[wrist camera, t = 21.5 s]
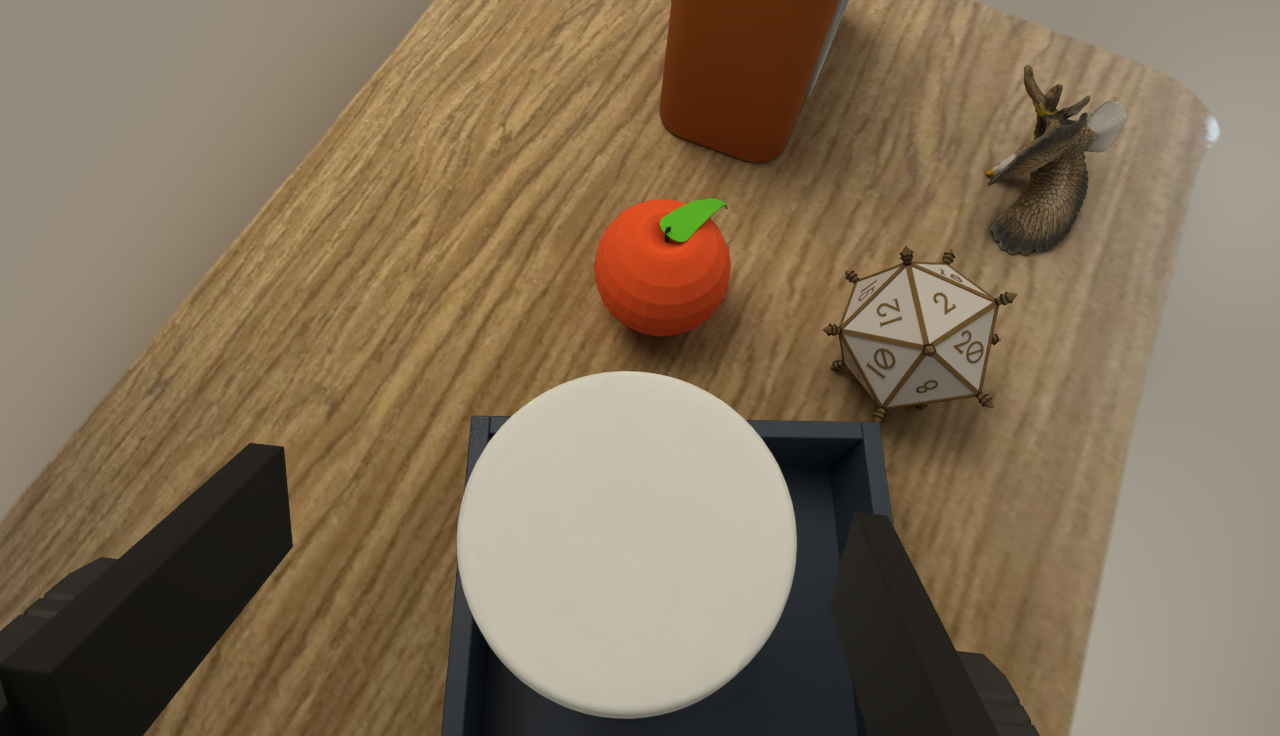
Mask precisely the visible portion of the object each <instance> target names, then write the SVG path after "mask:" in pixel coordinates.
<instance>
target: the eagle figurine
mask: <svg viewBox="0 0 1280 736" xmlns="http://www.w3.org/2000/svg"><path fill="white" fill-rule="evenodd" d="M1024 85H1025V88H1026V90H1027V92H1028V94H1029V96H1030V97H1031V98H1032V100H1033V105H1034V107H1035V112H1036V113H1037V124H1036V130H1035V131H1034V136H1035V137H1034V140H1033V141H1031V142H1029V143H1027V144H1026V145H1024V146H1022V147H1021V148H1020V149H1019V150H1018V151H1016V152H1015V153H1013V154H1012V155H1011V156H1009V157H1007V158H1006V159H1004V160H1002V161H1001V162H1000V163H998V164H997V165H996V166H995V167H994V168H992V169H991V170H987V171H986V172H985V173H986V175H995V176H994V177H993V178H992V179H991V181H990V182H989V183H988V186H990V185H992V184H993V183H995V182H996V181H999V180H1001V179H1004V178H1007V177H1012V176H1020V175H1024V174H1027V173H1030V174H1031V179H1030V182H1029V184H1028V186H1027V187H1026V189H1025V190H1024V192H1023V193H1022V194H1021V196H1020V197H1019V199H1018V200H1017V201H1016V202H1015V203H1014V205H1012V206H1011V207H1010V208H1009V209H1007V210H1006V211H1005V212H1004V213H1002V215H1001V216H999V217H998V218H997V219H996V220H995V221H994V222H993V223H992V224H991V226H990V230H991V231H993V232H994V236H993V238H994V240H996V241H999V242H1000V243H999V246H1000V248H1001V249H1002V250H1007V251H1008V252H1009V253H1010V254H1016V253H1018V252H1021V253H1022V254H1024V255H1026V254H1029V253H1030V252H1032V251H1033V249H1035V250H1036V252H1041V251H1042V250H1043V249H1044V248H1046V249H1051V248H1052V247H1053V246H1055V245H1056V244H1057V243H1058V241H1061V240H1063V238H1064V237H1065V235H1066V234H1067V233H1069V231H1070V229H1071V226H1072V224H1073V223H1074V221H1075V220H1076V218H1077V212H1079V211H1080V208H1081V206H1082V204H1083V200H1084V199H1085V196H1086V194H1087V188H1088V185H1087V182H1088V177H1087V175H1088V172H1087V170H1086V163H1085V162H1084V160H1085V156H1084V152H1085V151H1091V152H1104V151H1105V150H1107V149H1108V148H1109V147H1110V146H1111V145H1112V144H1113V142H1114V141H1115V139H1116V138H1117V135H1118V134H1119V133H1120V132H1121V131H1122V129H1123V127H1124V123H1125V122H1126V120H1127V114H1126V109H1125V108H1124V107H1123V106H1122V105H1121V104H1120V103H1118V102H1116V101H1108V102H1105V103H1104V104H1103V105H1101V106H1100V107H1099V108H1098V109H1097V110H1096V111H1095V112H1094V113H1093V114H1092V115H1091V116H1090V118H1089V119H1088V120H1087V121H1086V119H1087V117H1088V113H1083V114H1082V115H1081V116H1080V118H1079V120H1078V121H1073V120H1067V118H1069V117H1071V116H1073V115H1076V114H1078V113H1079V112H1080V110H1081V109H1082V108H1083V107H1084V106H1085V105H1087V104H1088V102H1089V101H1090V96H1086V97H1085V98H1084V99H1083V100H1082V101H1080V102H1079V103H1077V104H1075V105H1073V106H1071V107H1068V108H1064V109H1062V110H1060V111H1059V112H1058V110H1057V109H1056V107H1057V104H1058V102H1059V99H1060V95H1061V92H1062V88H1063V86H1062V85H1061V84H1059V85H1056V86H1054V87H1052V88H1051V89H1050V90H1049V91H1048V92H1047V94H1046V96H1045V95H1043V93H1042V92H1041V90H1040V89H1039V87H1038V86H1037V84H1036V82H1035V80H1034V74H1033V70H1032V68H1031V67H1030V66H1029V65H1026V66H1025V67H1024ZM1085 121H1086V122H1085Z"/></svg>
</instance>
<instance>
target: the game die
mask: <svg viewBox="0 0 1280 736" xmlns="http://www.w3.org/2000/svg"><path fill="white" fill-rule="evenodd" d="M912 253H913V251H911V250H910V249H909V248H908V247H907V246H905V248H904V249H903V251H902V252H901V253H900V255H901V260H903V263H902V264H899V265H896V266H894V267H891V268H888V269H886V270H883V271H880V272H878V273H875V274H872V275H870V276H867V277H864V278H862V279H859V278H858V277H857V274H855V273H854V271H845V273H846V279H848V280H849V282H852V283H854V287H853V290H852V293H851V296H850V298H849V301H848V304H847V307H846V309H845V312H844V315H843V318H842V321H841V323H840V326H839V327H837V326H836V325H835V324H834V325H831V324H829V325H828V326H827V327H825V328H824V329H822V330H823V331H824V332H826V333H827V335H828V336H829V335H832V336H833V335H837V334H839V339H840V346H841V352H842V358H843V360H837V361H834V362H833V364H832V366H831V369H835V370H837V371H839V369H843V367H844V366H846V367H847V369H848V370H849V371H850V372H851V373H852V375H853V376H854V377H855V378H856V380H857V381H858V382H859V383H860V384H861V386H862V387H863V388H864V389H865V390H866V392H867V393H868V394H869V395H870V397H871V398H872V399H873V400H874V401H875V403H876V404H877V405H878V406H879V408H878V409H877V410H876V411H874V412H875V414H874V415H872V416H873V417H874V422H879V423H880V422H881V421H884V417H885V411H886V410H889V409H895V408H902V407H909V406H916V408H919V409H920V410H922V411H923V409H924V408H925V407H927V406H928V405H927V404H929V403H936V402H943V401H949V400H956V399H963V398H970V397H977V398H978V400H979V403H981V404H982V406H983V407H984V406H986V407H990V408H994V406H993V402H992V399H993V398H990V397H989V396H988V394H984V393H983V392H982V387H983V382H984V377H985V372H986V367H987V362H988V357H989V352H990V347H991V344H993V345H995V344H996V343H997V342H999V341H1000V340H1001V339H1000V338H999V337H998V336H997V334H994V335H993V332H994V327H995V322H996V318H997V313H998V308H999V305H1001V304H1003V305H1007V303H1012V301H1013V300H1014V298H1015V297H1016V296H1017V295H1018V294H1013V293H1008V292H1007V291H1006V292H1005V294H1003V295H1002V294H1000V296H999V297H998V298H993V297H992V296H991V295H989V294H988V293H987V292H985V291H984V290H982V289H981V288H980V287H978V286H977V285H976V284H974V283H973V282H972V281H970V280H969V279H967V278H966V277H965V276H963V275H962V274H961V273H959V272H958V271H956V270H955V269H954V268H952V267H951V266H950V265H949V264H950V263H951V262H953V259H954V258H955V256H954V254H953V251H952V249H951V250H950V251H948V252H946V253H944V257H943V259H942V261H943V263H932V262H911V260H912V258H913V255H912Z"/></svg>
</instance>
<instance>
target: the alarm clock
mask: <svg viewBox="0 0 1280 736" xmlns="http://www.w3.org/2000/svg"><path fill="white" fill-rule="evenodd" d="M848 1H849V0H672V2H671V11H670V20H669V29H668V38H667V47H666V56H665V65H664V74H663V83H662V92H661V101H660V116H661V119H662V122H663V123H664V125H665V126H666V127H667V129H668V130H669V131H671V132H672V133H673V134H675V135H677V136H679V137H681V138H684V139H686V140H689V141H692V142H695V143H698V144H700V145H703V146H706V147H709V148H711V149H714V150H717V151H720V152H723V153H725V154H728V155H731V156H734V157H736V158H739V159H742V160H746V161H750V162H763V161H768V160H770V159H773V158H775V157H776V156H777V155H779V154H780V153H781V152H782V151H783V149H784V148H785V146H786V144H787V142H788V139H789V137H790V134H791V132H792V130H793V127H794V125H795V122H796V120H797V117H798V115H799V112H800V110H801V107H802V105H803V103H804V100H805V98H808V97H810V95H811V93H812V91H813V88H814V86H815V84H816V81H817V79H818V76H819V74H820V72H821V69H822V67H823V64H824V62H825V59H826V57H827V54H828V52H829V49H830V47H831V44H832V41H833V39H834V36H835V34H836V31H837V29H838V26H839V24H840V21H841V19H842V16H843V14H844V11H845V8H846V6H847V3H848Z"/></svg>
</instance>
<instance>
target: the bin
mask: <svg viewBox="0 0 1280 736" xmlns="http://www.w3.org/2000/svg"><path fill="white" fill-rule="evenodd" d="M510 417H511V416H491V418H490V416H472V417H471V427H470V437H469V448H468V458H467V469H466V479H465V489H466V486H467V483H468V480H469V478H470V475H471V473H472V470H473V468H474V466H475V464H476V462H477V461H478V459H479V457H480V456H481V454H482V452H483V451H484V449H485V447H486V446H487V444H488V443H489V441H490V440H491V439H492V437H493V436H494V435H495V434H496V432H497V431H498V430H499V429H500V428H501V426H502V425H503V424H504V423H505V422H506V421H507V420H508V419H509V418H510ZM746 421H747V422H748V423H749V424H750V425H751V426H752V427H753V429H754V430H755V431H756V432H757V433H758V435H759V436H760V437H761V438H762V440H763V441H764V443H765V444H766V446H767V447H768V449H769V450H770V452H771V453H772V455H773V456H774V458H775V460H776V462H777V463H778V465H779V467H780V470H781V472H782V474H783V477H784V479H785V482H786V484H787V487H788V491H789V494H790V497H791V500H792V505H793V510H794V515H795V522H796V534H797V553H796V566H795V572H794V577H793V582H792V586H791V590H790V593H789V596H788V599H787V602H786V604H785V607H784V610H783V612H782V614H781V617H780V619H779V621H778V623H777V625H776V626H775V628H774V630H773V632H772V634H771V635H770V637H769V638H768V640H767V641H766V642H765V644H764V645H763V647H762V648H761V649H760V651H759V652H758V653H757V654H756V655H755V656H754V658H753V659H752V660H751V661H750V662H749V663H748V664H747V665H746V666H745V667H744V668H743V669H742V670H741V671H740V672H739V673H738V674H737V675H736V676H735V677H734V678H732V679H731V680H730V681H729V682H728V683H726V684H725V685H724V686H722V687H721V688H720V689H718V690H717V691H715V692H714V693H712V694H711V695H709V696H707V697H706V698H704V699H702V700H701V701H699V702H696V703H694V704H692V705H690V706H688V707H685V708H682V709H679V710H677V711H674V712H670V713H666V714H662V715H658V716H651V717H645V718H633V719H622V718H606V717H599V716H594V715H589V714H585V713H582V712H578V711H575V710H572V709H569V708H567V707H564V706H562V705H560V704H557V703H555V702H553V701H551V700H549V699H547V698H546V697H544V696H542V695H541V694H539V693H537V692H536V691H534V690H533V689H532V688H530V687H529V686H527V685H526V684H525V683H523V682H522V681H521V680H520V679H519V678H518V677H516V676H515V675H514V674H513V673H512V672H511V671H510V670H509V669H508V668H507V667H506V666H505V665H504V664H503V662H502V661H501V660H500V659H499V658H498V657H497V655H496V654H495V653H494V651H493V650H492V649H491V647H490V646H489V644H488V643H487V641H486V639H485V638H484V636H483V634H482V632H481V631H480V629H479V627H478V625H477V623H476V621H475V619H474V617H473V615H472V612H471V610H470V608H469V605H468V602H467V599H466V596H465V594H464V591H463V586H462V582H461V577H460V573H459V568H458V564H457V574H456V585H455V595H454V606H453V616H452V627H451V637H450V648H449V658H448V669H447V679H446V690H445V701H444V711H443V722H442V732H441V736H869V734H868V731H867V727H866V724H865V721H864V718H863V715H862V711H861V708H860V705H859V702H858V698H857V695H856V692H855V689H854V685H853V682H852V679H851V676H850V673H849V669H848V666H847V663H846V660H845V656H844V653H843V650H842V647H841V644H840V640H839V637H838V634H837V631H836V627H835V624H834V621H833V618H832V615H831V611H830V608H829V605H830V602H831V598H832V594H833V590H834V587H835V583H836V579H837V575H838V572H839V568H840V564H841V561H842V557H843V553H844V549H845V546H846V542H847V538H848V534H849V531H850V527H851V523H852V520H853V516H854V512H860V513H869V514H878V515H886V516H888V518H889V520H890V522H891V523H892V525H893V520H892V513H891V506H890V498H889V491H888V484H887V477H886V469H885V462H884V455H883V447H882V440H881V433H880V425H879V422H830V421H768V420H746ZM464 492H465V490H464Z"/></svg>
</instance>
